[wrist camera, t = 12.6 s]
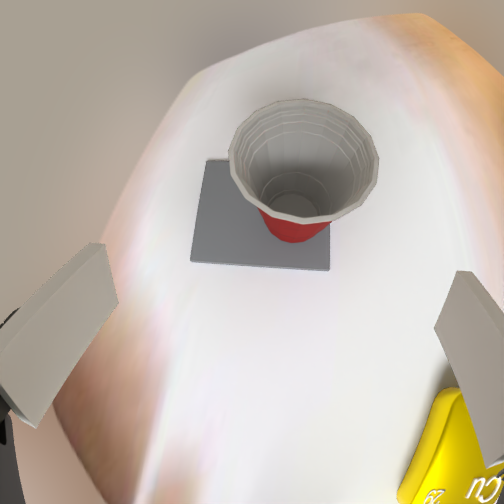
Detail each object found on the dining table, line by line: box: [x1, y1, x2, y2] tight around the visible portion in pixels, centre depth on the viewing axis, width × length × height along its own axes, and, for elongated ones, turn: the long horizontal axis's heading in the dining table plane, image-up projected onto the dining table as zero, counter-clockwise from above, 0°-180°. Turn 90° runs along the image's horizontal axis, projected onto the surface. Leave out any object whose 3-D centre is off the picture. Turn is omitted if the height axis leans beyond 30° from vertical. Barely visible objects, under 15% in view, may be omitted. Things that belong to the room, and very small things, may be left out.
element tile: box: [397, 387, 504, 504], centre depth 21 cm, size 15×15×5 cm
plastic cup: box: [228, 99, 379, 243], centre depth 26 cm, size 11×11×12 cm
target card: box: [190, 161, 330, 271], centre depth 32 cm, size 14×12×1 cm
